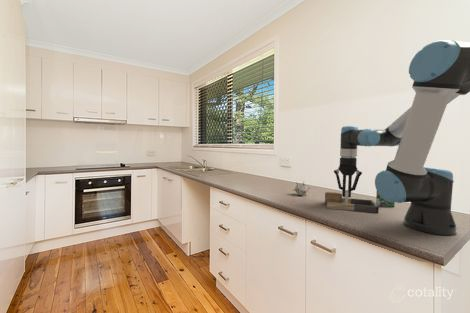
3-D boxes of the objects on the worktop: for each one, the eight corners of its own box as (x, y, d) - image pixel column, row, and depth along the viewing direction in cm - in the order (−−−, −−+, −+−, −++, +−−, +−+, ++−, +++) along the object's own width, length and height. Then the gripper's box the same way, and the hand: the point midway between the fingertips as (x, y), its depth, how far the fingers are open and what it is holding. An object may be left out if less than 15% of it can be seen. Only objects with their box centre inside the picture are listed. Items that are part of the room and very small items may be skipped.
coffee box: (378, 207, 112) (380, 181, 112) (375, 205, 115) (376, 180, 114) (394, 207, 112) (396, 181, 112) (390, 205, 115) (392, 180, 114)
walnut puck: (342, 208, 111) (342, 196, 110) (325, 206, 113) (325, 194, 113) (340, 203, 118) (341, 192, 118) (324, 202, 121) (324, 191, 120)
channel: (378, 213, 102) (378, 207, 102) (326, 208, 110) (327, 202, 110) (372, 206, 115) (372, 200, 114) (326, 201, 122) (326, 196, 122)
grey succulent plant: (303, 202, 135) (310, 191, 129) (290, 196, 136) (296, 185, 130) (305, 192, 142) (312, 181, 136) (292, 187, 143) (298, 176, 137)
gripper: (361, 157, 113) (359, 202, 114) (333, 156, 117) (331, 200, 119) (364, 158, 106) (361, 206, 107) (334, 157, 110) (332, 203, 112)
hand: (346, 203), depth 113 cm, fingers closed
